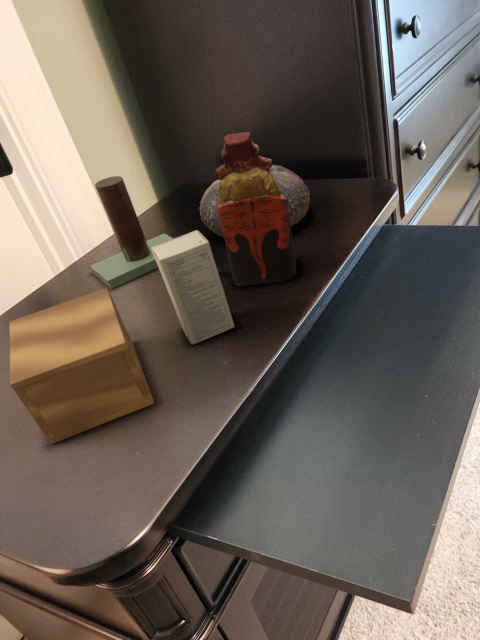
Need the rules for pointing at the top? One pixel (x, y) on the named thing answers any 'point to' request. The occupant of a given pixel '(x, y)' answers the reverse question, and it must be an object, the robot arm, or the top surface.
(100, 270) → the board
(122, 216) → the brown wooden cylinder
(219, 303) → the cosmetic box
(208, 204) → the sea urchin shell
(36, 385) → the cabinet
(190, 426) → the top surface
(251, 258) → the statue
